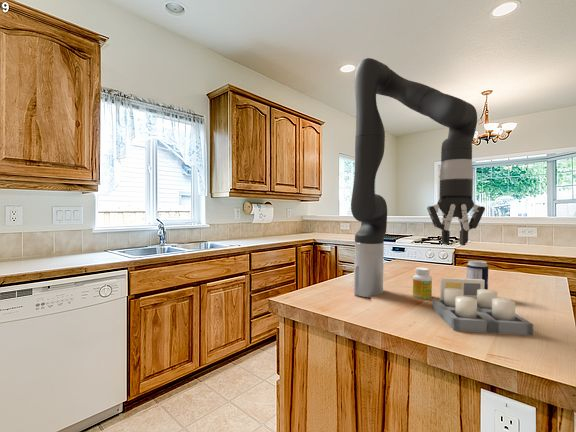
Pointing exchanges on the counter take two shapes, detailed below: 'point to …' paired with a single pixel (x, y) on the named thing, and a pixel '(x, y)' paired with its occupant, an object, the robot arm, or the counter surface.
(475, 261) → the beverage can
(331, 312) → the counter surface
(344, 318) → the counter surface
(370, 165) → the robot arm
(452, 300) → the button back left
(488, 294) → the button back right
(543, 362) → the counter surface
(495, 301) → the button front right
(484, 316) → the button board
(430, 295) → the supplement bottle
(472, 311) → the button front left
